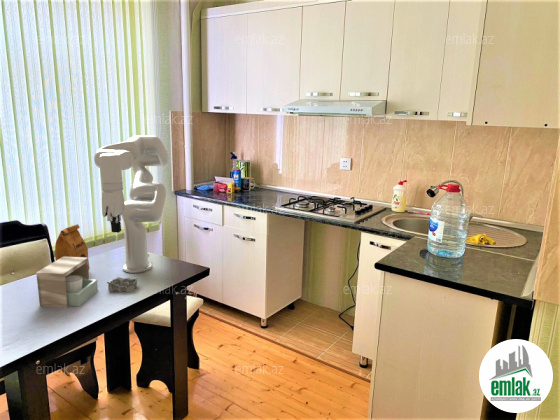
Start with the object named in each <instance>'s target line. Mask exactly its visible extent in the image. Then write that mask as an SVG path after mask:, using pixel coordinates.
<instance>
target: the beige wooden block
mask: <svg viewBox="0 0 560 420" xmlns="http://www.w3.org/2000/svg"><path fill="white" fill-rule="evenodd" d="M88 260H89V257H88V258H84V257H62V258H60V259H58V260H56V259H55V261H53V262H52V263H49V264H48V265H46V266H45V267H43V268H42V269H40V270H38V271H36V272H35V273H36V274H35V275H36V283H37V291H38V292H37V293H38V300H39V306H40V307H52V308H53V307H54V308H68V307H69V306H68V304H67V294H66V283H65V277H67V276H71V275H80V276H82V279H91V278H90V269H89V268H90V265H89V266H88Z"/></svg>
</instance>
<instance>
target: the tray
mask: <svg viewBox="0 0 560 420" xmlns="http://www.w3.org/2000/svg"><path fill="white" fill-rule="evenodd" d="M98 288H99V286H98V279H91V278H90V279H82V290H81V291H80V292H78V293H66V294H67V304H68V307H70V306H74V307H80V306H81V305H82V304H83V303H85V302H86V301H87V300H88V299H89V298H91V297H92V296H93V295H94V294H95V293H97V291H99V289H98Z"/></svg>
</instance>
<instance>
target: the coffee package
mask: <svg viewBox="0 0 560 420" xmlns="http://www.w3.org/2000/svg"><path fill="white" fill-rule="evenodd" d="M79 229H80V225H79V224H78V223H77V224H74V225H71V226H68V227H66V228H64V229H62V230H60V232H59V234H58V237H57V238H56V242H55V245H54V255H55V261H56V260H58V259H60V258H62V257H84V258H88V266H89V270H90V262H89V249H88V245H87V243H86V240H85V239H84V238H83V237H82V234H81V233H80V231H79Z"/></svg>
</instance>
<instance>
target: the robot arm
mask: <svg viewBox="0 0 560 420" xmlns="http://www.w3.org/2000/svg"><path fill="white" fill-rule="evenodd" d="M93 159H94V164H95V166H96V167H97V168H98V169H99V172H100V173H99V174H100V182H101V191H102V192H101V213H102V214H101V215H102V217H103V218H105V217H107V218H106V221H108V222H109V223H110V231H111V233H118V234H119V233H121V232H122V226H123V233H124V236H123V237H124V253H125V264H124V265H123V266H122V270H123V272H125V273H130V274H131V273H133V274H137V273H144V272H147V271H149V270H151V269H152V267H153V265H152V263H151V262H149V257H150V255H149V253H148V251H149V249H148V237H147V236H148V233H147V228H146V226H145V225H144V224H143V223H156V222H157V223H158V222H159V221H160V220H161V218H162V215H163V213H164V212H163V210H164V207H165V204H166V203H165V202H166V197H167V190H166V186H165V185H164V184H163V183H160V182H155V181H154V176H153V174H152V172H151V171H150V170H149V169H148V168H146V167H164V166H166V165H167V164H168V163H169V162H168V161H169V154H168V151H167V149H166V146H165V145H164V143H163V142H162V140H161V139H160V138H159V137H158V136H156V135H133V136H131V137H130V138H128V139H127V140H126V141H121V142H117V143H112V144H108V145H104V146H102V147H100V148H99V149H97V150H96V152H95V154H94V157H93ZM130 168H132V172H133V175H134V177H133V180H132V183H131V187H130V190H129V199H130V200H126V201H125V198H124V197H125V196H124V181H123V171H126V170H130ZM121 221H122V223H123V225H122V223H121Z"/></svg>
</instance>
